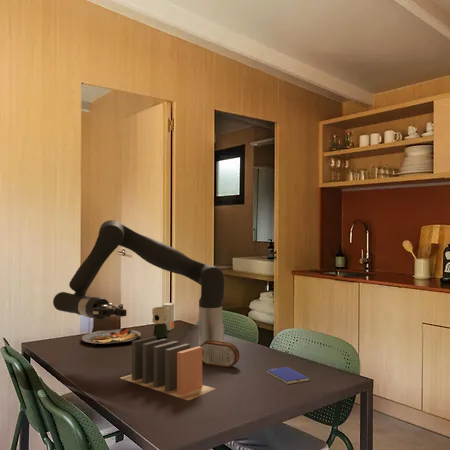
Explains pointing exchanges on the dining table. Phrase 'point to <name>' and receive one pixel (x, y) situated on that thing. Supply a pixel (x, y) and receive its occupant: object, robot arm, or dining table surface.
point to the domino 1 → (139, 356)
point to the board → (186, 396)
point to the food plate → (112, 336)
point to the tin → (219, 353)
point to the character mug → (160, 321)
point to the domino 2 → (149, 360)
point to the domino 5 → (189, 370)
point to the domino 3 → (161, 363)
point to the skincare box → (170, 315)
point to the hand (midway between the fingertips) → (124, 313)
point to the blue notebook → (287, 375)
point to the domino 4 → (172, 366)
